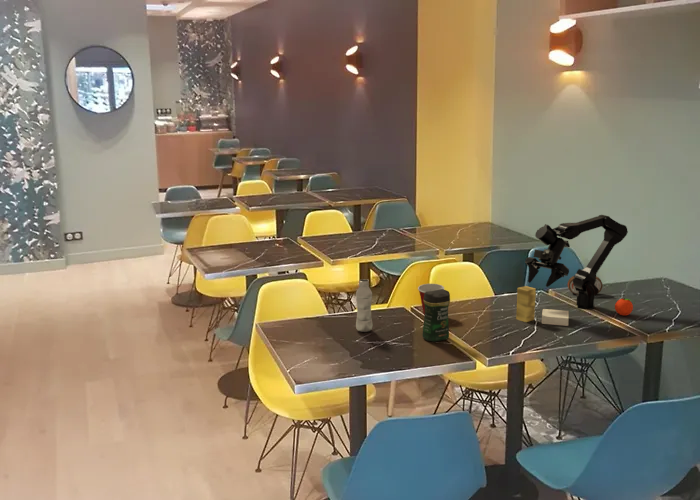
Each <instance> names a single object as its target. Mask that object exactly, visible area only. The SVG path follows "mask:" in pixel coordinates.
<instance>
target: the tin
mask: <svg viewBox="0 0 700 500" xmlns="http://www.w3.org/2000/svg"><path fill="white" fill-rule="evenodd" d="M573 279H574V277H573V276H571V277H569V279H568V280H567V284H566V285H567V288H568V290H569V291H570V293H572V294H574V295H577V294H578V293H579V291H576V289H575V286H574V285H573ZM594 285H595V286H596V287H597V288H598V289H599V291H598V294H599V293H601V291H602V289H603V282H602V280H601V278H600V277H599V276H596V282H595V284H594Z"/></svg>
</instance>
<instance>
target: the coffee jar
mask: <svg viewBox="0 0 700 500" xmlns="http://www.w3.org/2000/svg"><path fill="white" fill-rule="evenodd" d="M450 295H451V293H450V292H449V291H448V290H446V289H445V288H444V289H440V290H434V291H427V292H425V293H424V305H425V315H424V314H423V325H422V333H421V335H422V338H423V339H424V340H425V341H427V342H429V341H430V342H433V343H434V342H439V341H440V342H441V341H445V340H448V339H449V338H450V326H449V306H450V303H451V296H450Z"/></svg>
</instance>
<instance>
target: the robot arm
mask: <svg viewBox="0 0 700 500" xmlns="http://www.w3.org/2000/svg"><path fill="white" fill-rule="evenodd" d="M598 228H602V229H604V230H605V231H604V233H603V240H602V242H601V243H600V245H599V247H597V248H596V249H597V250H595V252H594V254H593V256H592V258H591V259H590V260H589V262H588V263H587V265H586V266H585V268H583V269H581V268H578V269H577V270H576V273H575V274H574V275H572V277H574V279H573V285H574V286H575V289H576V291H579V293H578V294H576V306H577V308H578V309H589V310H590V309H591V310H593V309H594V308H595V306H594V303H595V295H597V296H598V294H599V293H598V291H599V289H598V288H597V287H596V286H595V285H594V284H595V282H596V277H597V273H598V272H599V270H600V269H601V267H602V266H603V264H604V262H605V261H606V259H607V258H608V256H609V255H610V253H611V251H612V250H613V249H614V247H615V246H616V245H618V244H619V243H620V242H622V241H623V240H624V239H625V238H626V236H628V232H629V231H628V227H627V226H626V225H625V224H622V223H620V222H618V221H616V220H614V219H613V218H611V217H610V216H609V215H605V214H599V215H597V216H594V217H591V218H590V217H589V218H588V219H585V220H581V221H580V220H579V221H577V222H562V223H559V224H558V226H556V227H554V228H552V227H551V226H550V225H549V224H546V223H545V224H544V225H542V226H541V227H539V228H538V229H537V230H536V232H535V234H534V236H535V238H536V239H537V240H538V241H540V242H541V243H542V244H544V245H545V246H548V247H547V248H544V250H539V249H534V252H533V257H531V256H528V257H526V258H525V260H524V263H525V264H526V266H527V267H528V278H527V283H528V284H530V283H531V282H533V280H534V278H535V277H537V274H539V271H540V270H539V269H541V268H543V269H549V270H551V271H550V274H549V277H548V279H547V281H546V283H545V287H546V288H548V287H550V286H551V285H552V284H554V283H555V282H557V281H558V280H560V279H561V278H564V277H568V275H569V274H570V268H569V267H568V266H566V265H565V264H564V263H561V262H558V261H559V260H561V259H562V257H561V255H562V253H563V251H564V249H565V248H570V246H571V245H570V243H569V240H573V239H575V238H578V237H579V236H580V234H583V233H585V232H588V231H591V230H595V229H598ZM565 239H566V240H565Z"/></svg>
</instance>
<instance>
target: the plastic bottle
mask: <svg viewBox="0 0 700 500" xmlns="http://www.w3.org/2000/svg"><path fill="white" fill-rule="evenodd" d="M369 281H370V280H369V279H365V278H363V279H359V282H358V286H359V287H358V288H357V290H356V292H355V300H356V308H357V309H356V310H357V311H356V320H355V321H356V322H355V328H356V330H357V331H358V332H363V333H367V332H370V331H371V330H372V329H373V320H372V300H373V292H372V290H371V288H370V287H369V285H370V283H369Z"/></svg>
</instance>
